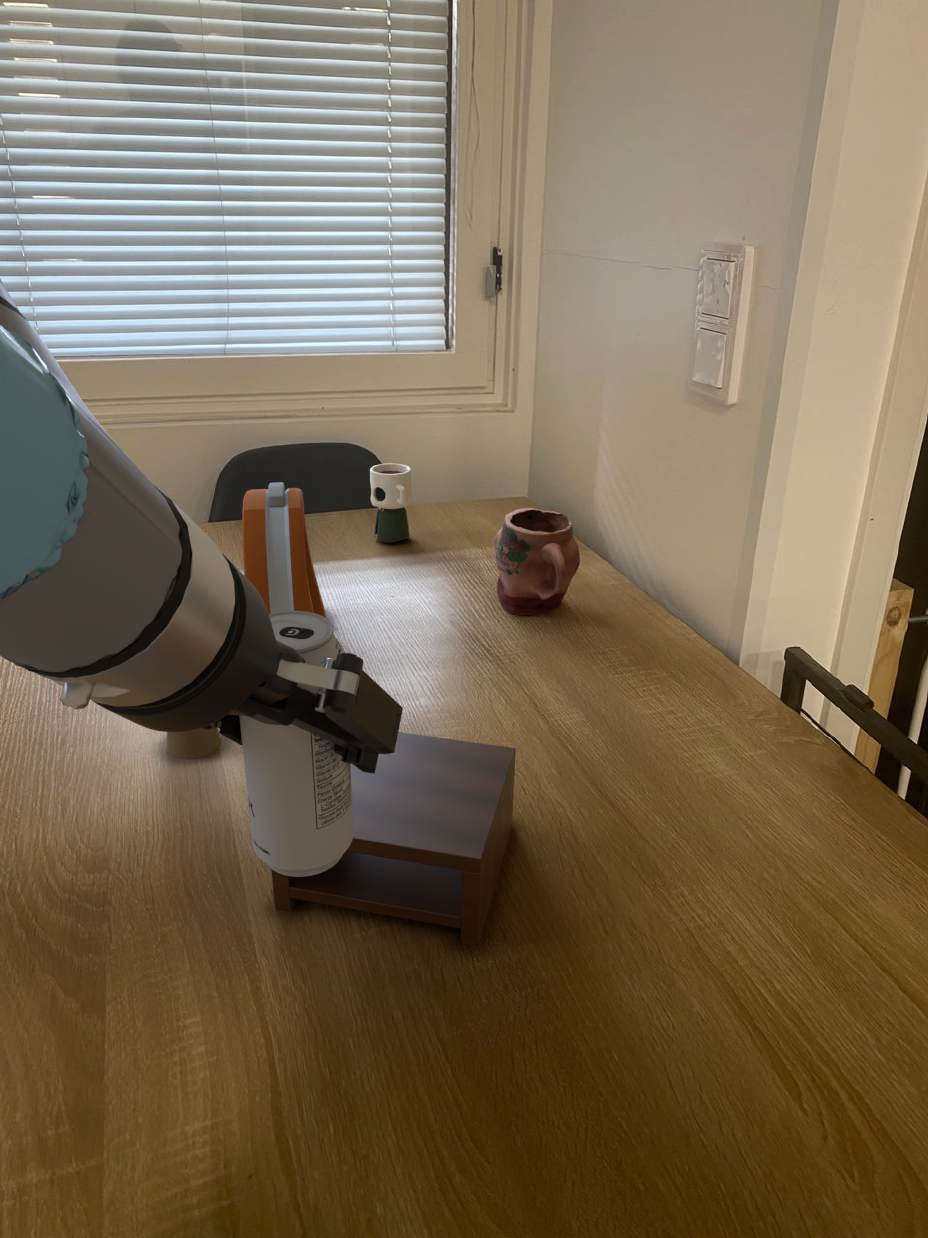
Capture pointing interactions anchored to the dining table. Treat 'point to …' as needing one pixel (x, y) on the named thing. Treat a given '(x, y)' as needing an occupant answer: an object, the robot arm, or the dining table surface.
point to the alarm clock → (279, 550)
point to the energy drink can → (298, 772)
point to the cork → (193, 743)
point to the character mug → (391, 500)
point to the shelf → (421, 836)
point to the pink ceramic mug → (535, 560)
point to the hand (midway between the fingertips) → (321, 743)
